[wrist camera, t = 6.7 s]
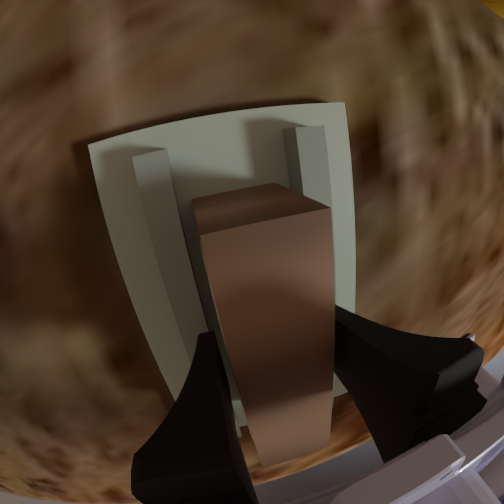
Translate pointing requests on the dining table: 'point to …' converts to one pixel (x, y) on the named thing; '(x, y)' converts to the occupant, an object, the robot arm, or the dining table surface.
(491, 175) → the dining table surface
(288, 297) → the brown box
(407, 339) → the robot arm
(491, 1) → the decorative art
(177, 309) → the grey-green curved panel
